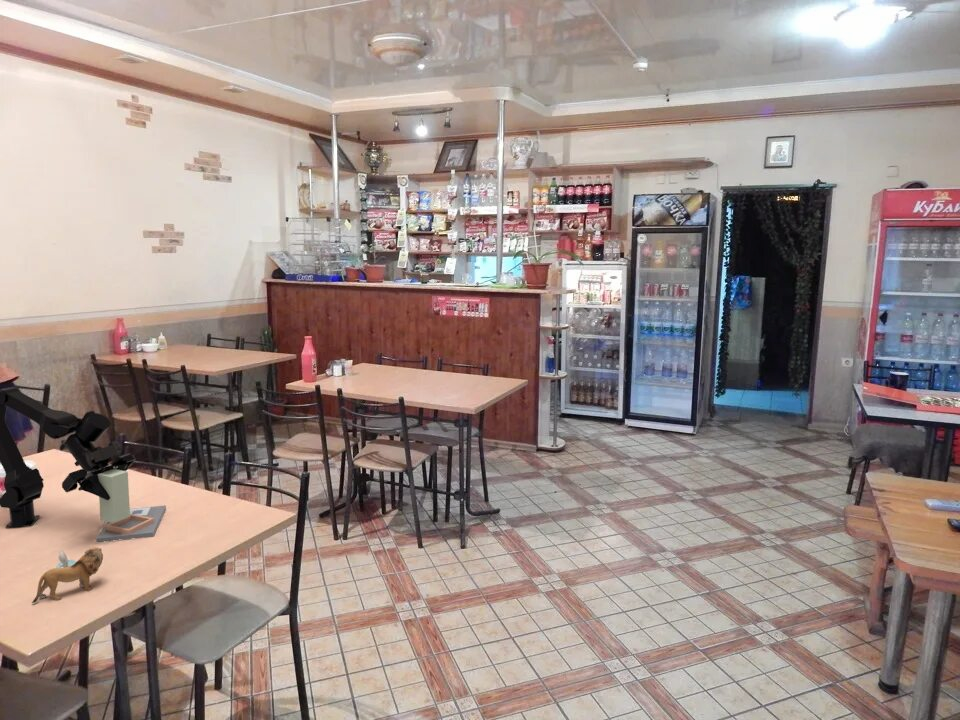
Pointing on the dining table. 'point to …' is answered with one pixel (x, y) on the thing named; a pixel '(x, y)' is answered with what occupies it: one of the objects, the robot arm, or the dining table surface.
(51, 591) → the lion figurine
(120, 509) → the pillar
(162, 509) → the baseplate
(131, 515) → the collar
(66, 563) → the pacifier
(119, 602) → the dining table surface
